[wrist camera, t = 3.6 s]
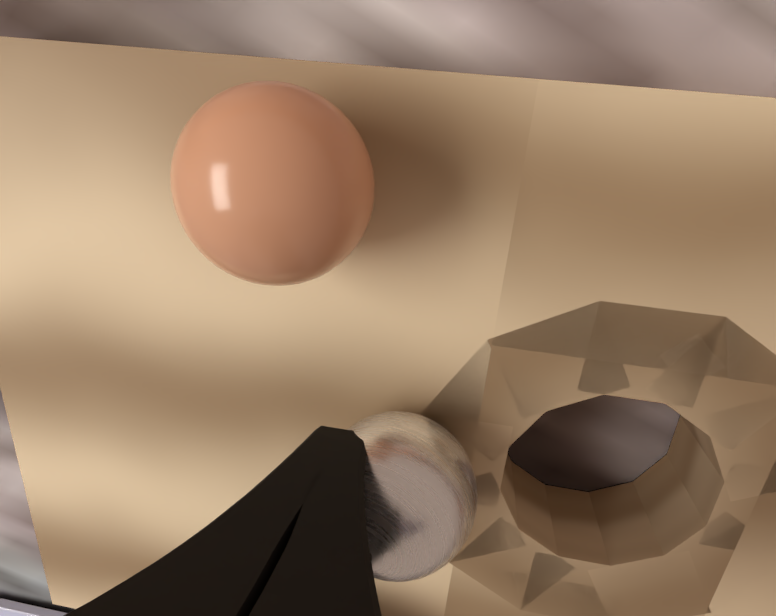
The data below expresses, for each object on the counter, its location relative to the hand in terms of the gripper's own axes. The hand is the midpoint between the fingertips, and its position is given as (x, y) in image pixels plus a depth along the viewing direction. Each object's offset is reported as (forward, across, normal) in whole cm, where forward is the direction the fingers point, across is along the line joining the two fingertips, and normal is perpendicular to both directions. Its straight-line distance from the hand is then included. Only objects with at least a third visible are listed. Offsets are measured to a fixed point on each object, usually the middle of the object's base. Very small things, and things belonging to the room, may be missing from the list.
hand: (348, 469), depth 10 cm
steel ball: (0, -1, 0) cm, 1 cm away
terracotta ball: (0, +1, -6) cm, 6 cm away
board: (+4, 0, 0) cm, 4 cm away
